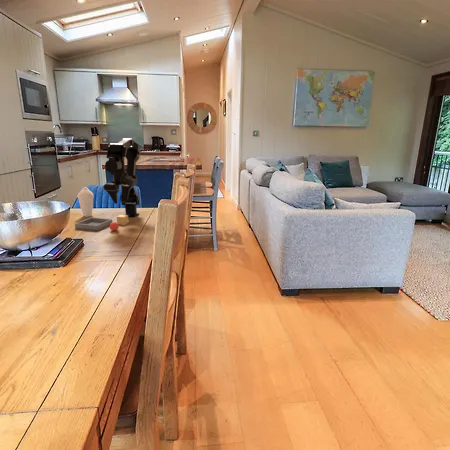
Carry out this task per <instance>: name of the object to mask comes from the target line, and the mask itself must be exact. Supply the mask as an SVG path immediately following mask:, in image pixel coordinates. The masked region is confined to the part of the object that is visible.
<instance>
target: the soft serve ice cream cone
mask: <svg viewBox="0 0 450 450" xmlns="http://www.w3.org/2000/svg"><path fill="white" fill-rule="evenodd" d="M76 197H77V199H78V201H79V207H80V210H81V213H82V216H83V217H88V218H89V217H93V209H94V197H95V194H94V193H93V192H92V191H91V190H90V189H89V188H88V187H87V186H84V187H82V188H81V190H80V191H79V192H78V193H77V195H76Z"/></svg>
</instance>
